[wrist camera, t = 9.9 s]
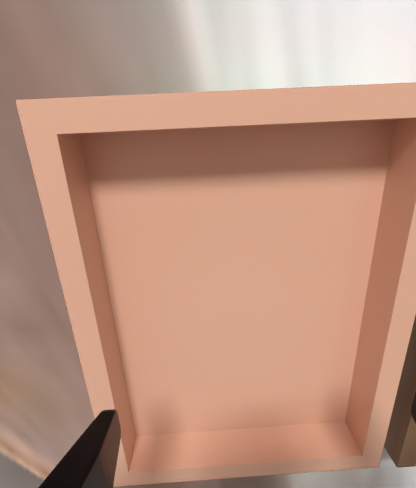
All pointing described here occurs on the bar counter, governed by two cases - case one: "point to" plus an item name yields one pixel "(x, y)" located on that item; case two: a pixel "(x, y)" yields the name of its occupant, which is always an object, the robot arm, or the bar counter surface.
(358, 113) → the tray
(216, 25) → the bar counter surface
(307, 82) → the bar counter surface
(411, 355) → the frame
